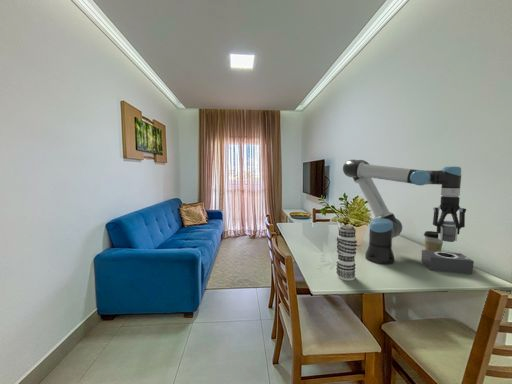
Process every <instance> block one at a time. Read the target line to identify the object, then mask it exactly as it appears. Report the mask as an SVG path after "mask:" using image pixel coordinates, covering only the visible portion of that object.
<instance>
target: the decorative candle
mask: <svg viewBox="0 0 512 384" xmlns="http://www.w3.org/2000/svg"><path fill="white" fill-rule="evenodd" d="M356 232H357V229H356V228H355V227H354V226H352V225H347V224H346V225H345V224H343V225H341V226H340V227H339V228H338V235H337V238H336V241H337V242H336V248H337V250H336V253H337V261H336V272H335V273H336V277H337V278H338V279H339V280H342V281H343V280H344V281H348V282H349V281H354V280H355V279H356V277H355V276H356V274H355V273H356V260H355V259H356V257H355V256H356V255H357V252H356V250H357V248H356V247H357V246H358V244H357V243H358V241H357V240H356V237H357V236H356Z"/></svg>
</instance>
